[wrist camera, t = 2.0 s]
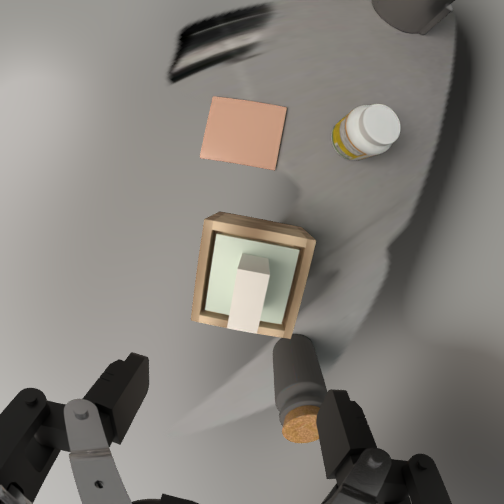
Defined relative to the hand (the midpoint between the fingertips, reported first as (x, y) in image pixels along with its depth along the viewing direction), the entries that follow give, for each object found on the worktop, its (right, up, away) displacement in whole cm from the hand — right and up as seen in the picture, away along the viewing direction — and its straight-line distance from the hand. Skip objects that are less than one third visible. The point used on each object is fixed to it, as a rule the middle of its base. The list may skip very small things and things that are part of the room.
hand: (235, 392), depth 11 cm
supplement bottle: (+13, +20, +20) cm, 31 cm away
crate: (+1, +5, +23) cm, 24 cm away
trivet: (0, +20, +20) cm, 28 cm away
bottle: (+7, -8, +26) cm, 28 cm away
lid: (+1, +3, +16) cm, 16 cm away
